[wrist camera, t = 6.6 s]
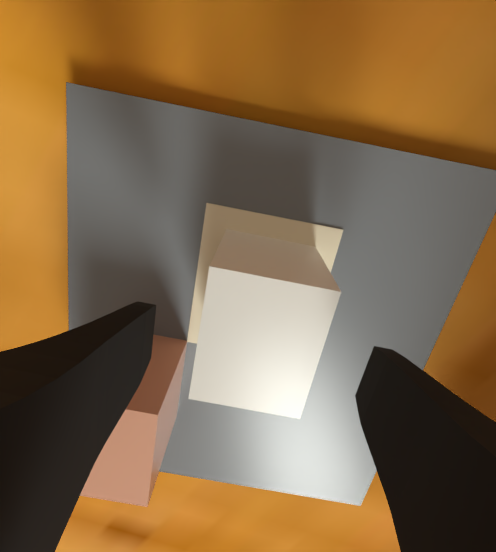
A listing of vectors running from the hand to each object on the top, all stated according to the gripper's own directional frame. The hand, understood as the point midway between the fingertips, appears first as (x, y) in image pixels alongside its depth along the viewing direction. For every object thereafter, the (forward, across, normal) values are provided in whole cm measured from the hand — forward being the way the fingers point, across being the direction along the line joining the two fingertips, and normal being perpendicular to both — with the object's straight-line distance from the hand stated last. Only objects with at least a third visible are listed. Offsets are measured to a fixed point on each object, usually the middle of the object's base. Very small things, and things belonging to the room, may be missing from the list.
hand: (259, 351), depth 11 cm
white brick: (+5, 0, 0) cm, 5 cm away
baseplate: (+6, 0, +3) cm, 7 cm away
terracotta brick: (+5, +5, +6) cm, 9 cm away
